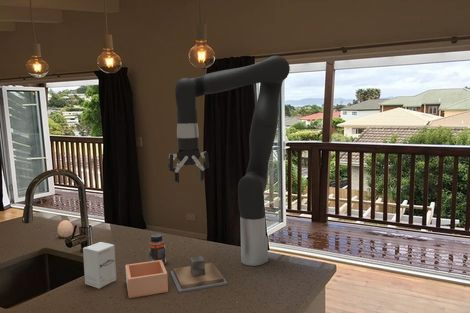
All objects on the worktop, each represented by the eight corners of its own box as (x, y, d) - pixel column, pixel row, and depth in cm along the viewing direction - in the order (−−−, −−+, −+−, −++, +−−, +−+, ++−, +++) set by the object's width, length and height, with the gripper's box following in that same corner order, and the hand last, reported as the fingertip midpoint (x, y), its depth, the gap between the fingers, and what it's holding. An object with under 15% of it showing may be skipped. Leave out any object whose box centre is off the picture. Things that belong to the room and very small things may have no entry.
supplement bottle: (169, 263, 147) (168, 233, 146) (159, 269, 142) (158, 238, 140) (156, 260, 150) (154, 231, 148) (146, 266, 144) (144, 236, 143)
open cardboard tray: (162, 276, 135) (161, 259, 134) (168, 291, 124) (167, 273, 123) (126, 282, 131) (125, 264, 131) (128, 298, 120) (127, 279, 119)
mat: (214, 266, 143) (214, 264, 143) (227, 284, 128) (227, 282, 128) (170, 272, 138) (170, 271, 138) (178, 292, 123) (178, 291, 123)
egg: (72, 238, 177) (71, 221, 176) (56, 240, 176) (55, 222, 175) (74, 234, 183) (73, 217, 182) (59, 235, 182) (58, 218, 181)
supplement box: (99, 289, 127) (96, 251, 125) (84, 284, 131) (81, 247, 129) (117, 280, 133) (115, 244, 131) (102, 275, 137) (100, 240, 135)
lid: (212, 265, 142) (211, 249, 141) (223, 281, 129) (223, 263, 128) (173, 271, 137) (172, 254, 137) (181, 289, 124) (180, 270, 123)
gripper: (204, 134, 144) (205, 178, 146) (165, 136, 139) (167, 181, 141) (210, 136, 137) (211, 181, 139) (169, 137, 132) (171, 185, 134)
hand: (189, 181), depth 140 cm, fingers open, 8 cm apart
